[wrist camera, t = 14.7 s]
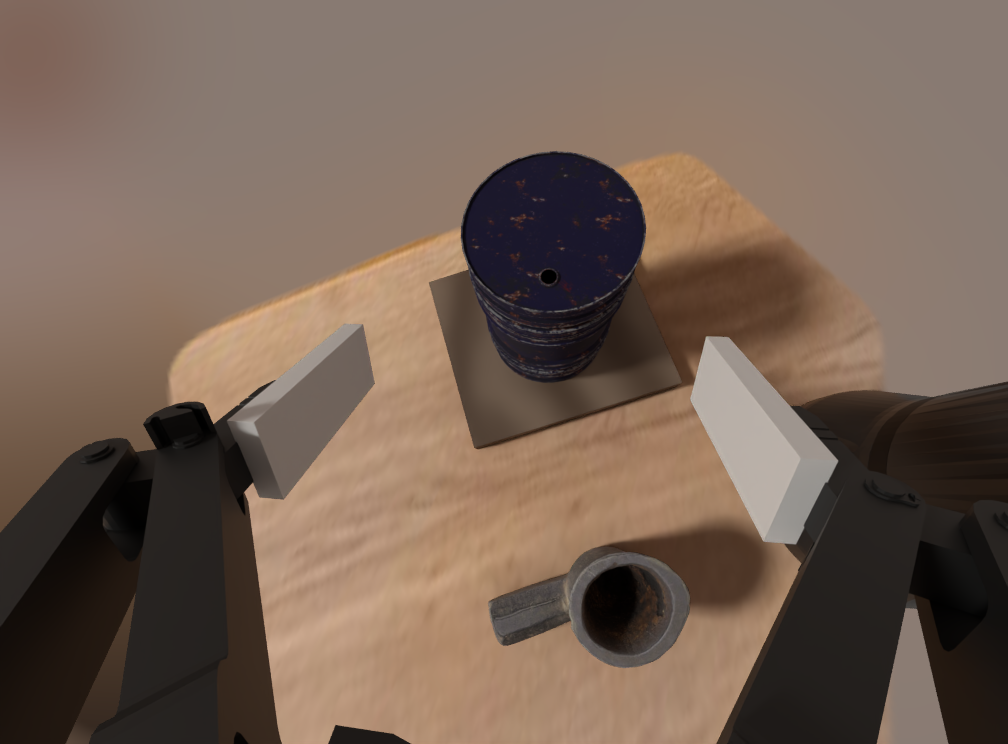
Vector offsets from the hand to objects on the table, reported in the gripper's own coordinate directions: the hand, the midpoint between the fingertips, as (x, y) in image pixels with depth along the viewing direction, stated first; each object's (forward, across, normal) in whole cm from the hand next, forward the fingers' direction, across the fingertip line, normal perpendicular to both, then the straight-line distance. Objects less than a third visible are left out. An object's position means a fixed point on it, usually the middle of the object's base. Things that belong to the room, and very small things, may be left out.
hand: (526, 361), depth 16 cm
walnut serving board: (+20, +1, -8) cm, 22 cm away
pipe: (+6, +4, -23) cm, 24 cm away
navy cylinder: (+19, +1, -7) cm, 20 cm away
